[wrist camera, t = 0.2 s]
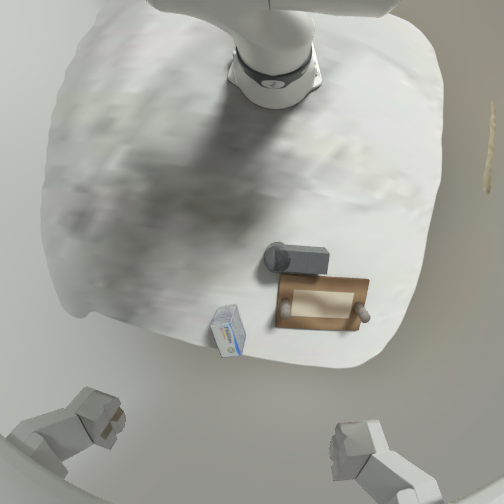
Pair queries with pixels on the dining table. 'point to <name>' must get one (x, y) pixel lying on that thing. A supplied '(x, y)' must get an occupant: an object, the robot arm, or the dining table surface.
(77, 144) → the dining table surface
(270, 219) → the dining table surface
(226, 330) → the medicine box
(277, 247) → the grey round-headed bar
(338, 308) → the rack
